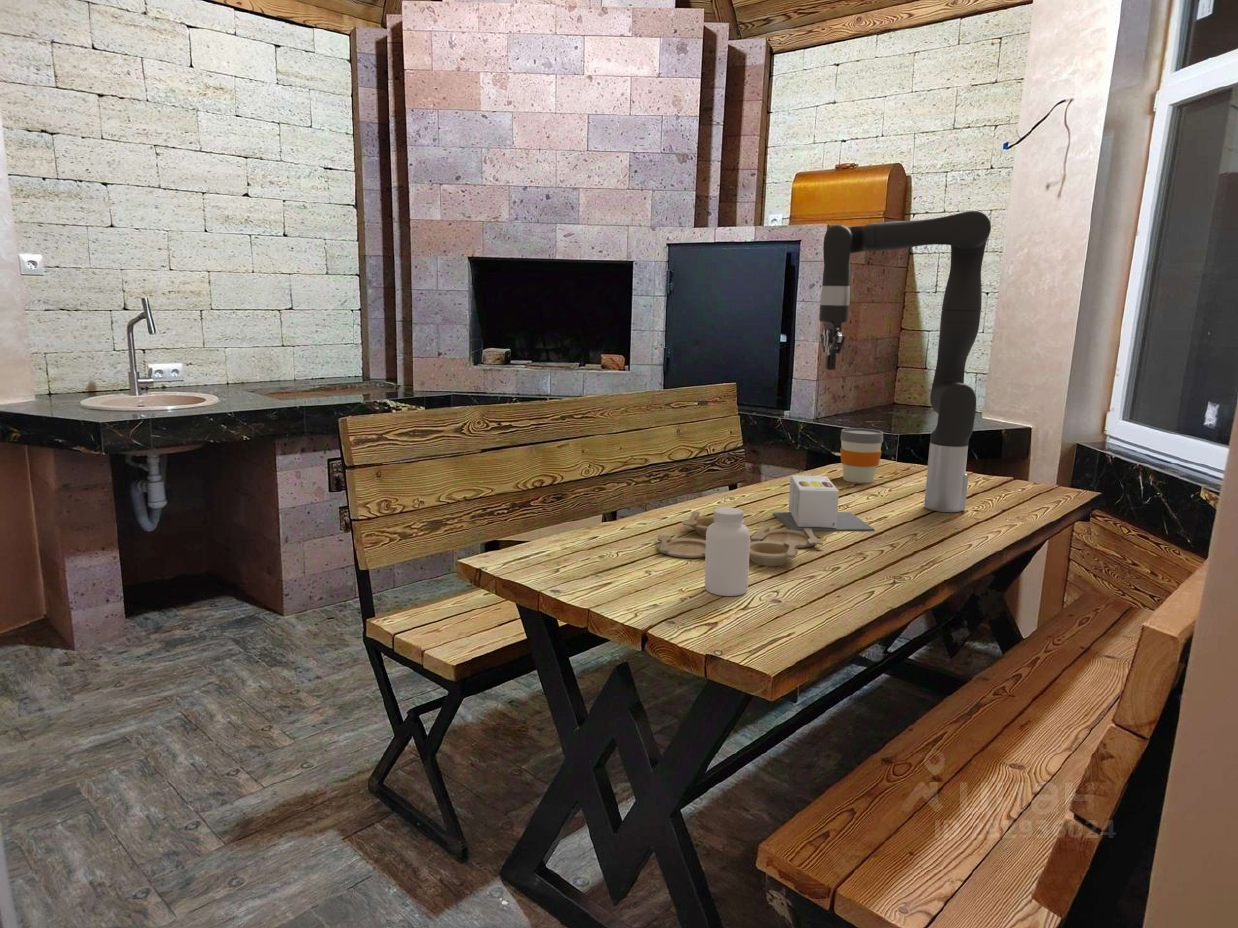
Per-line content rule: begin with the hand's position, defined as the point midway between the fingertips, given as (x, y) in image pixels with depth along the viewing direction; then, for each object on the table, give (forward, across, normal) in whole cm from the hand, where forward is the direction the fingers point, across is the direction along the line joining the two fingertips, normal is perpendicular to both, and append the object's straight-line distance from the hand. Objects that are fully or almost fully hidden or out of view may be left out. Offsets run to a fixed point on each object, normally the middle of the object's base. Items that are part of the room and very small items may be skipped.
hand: (830, 369), depth 219 cm
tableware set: (+36, -46, +34) cm, 67 cm away
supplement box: (+30, -17, +10) cm, 36 cm away
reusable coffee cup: (+35, +22, -19) cm, 46 cm away
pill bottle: (+35, -74, +43) cm, 93 cm away
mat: (+35, -27, +9) cm, 45 cm away
